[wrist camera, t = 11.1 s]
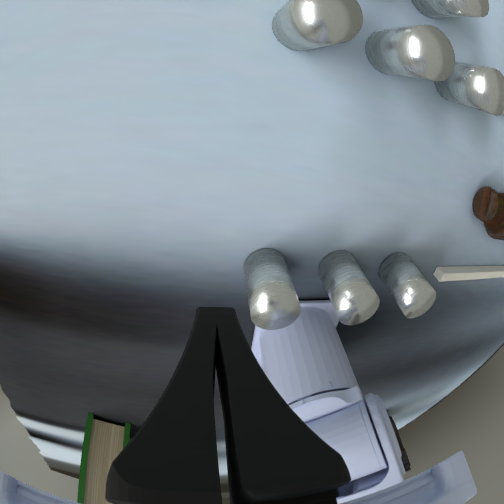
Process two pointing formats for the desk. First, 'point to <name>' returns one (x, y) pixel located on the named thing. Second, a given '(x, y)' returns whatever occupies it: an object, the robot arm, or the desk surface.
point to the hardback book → (99, 457)
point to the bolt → (490, 211)
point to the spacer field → (388, 62)
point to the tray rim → (468, 272)
